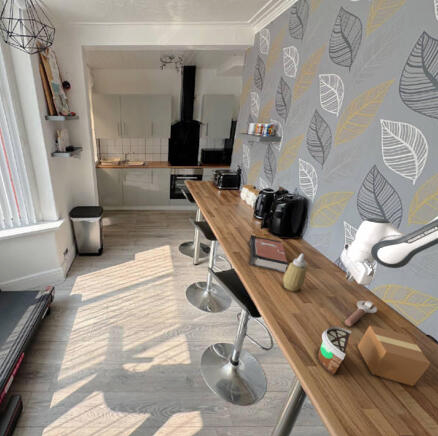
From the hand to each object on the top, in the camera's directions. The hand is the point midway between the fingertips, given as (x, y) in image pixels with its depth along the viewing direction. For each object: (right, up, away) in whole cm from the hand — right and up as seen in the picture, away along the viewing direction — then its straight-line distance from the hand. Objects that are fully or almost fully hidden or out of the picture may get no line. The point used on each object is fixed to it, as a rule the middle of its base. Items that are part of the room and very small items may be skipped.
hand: (348, 280), depth 105 cm
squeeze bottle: (-24, -4, +3) cm, 25 cm away
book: (-23, +6, +27) cm, 36 cm away
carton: (-15, -19, -30) cm, 38 cm away
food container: (-32, -18, -28) cm, 46 cm away
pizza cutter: (-5, -11, -11) cm, 17 cm away
